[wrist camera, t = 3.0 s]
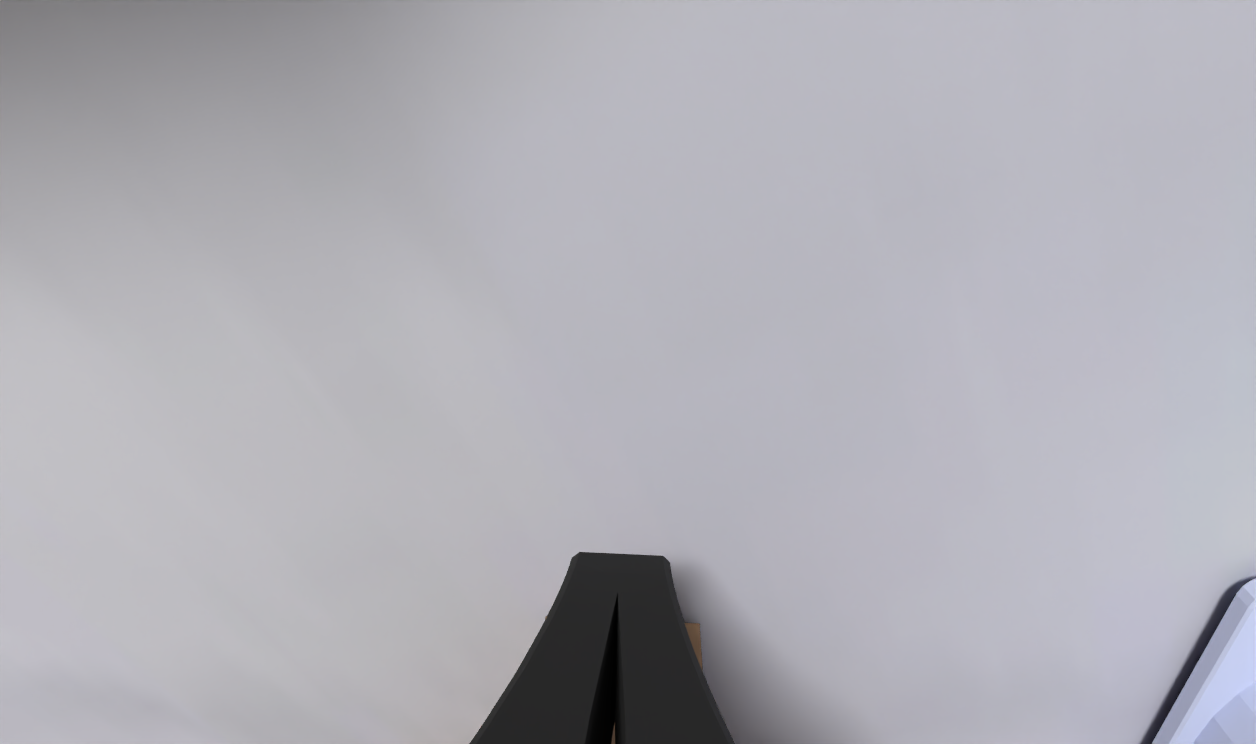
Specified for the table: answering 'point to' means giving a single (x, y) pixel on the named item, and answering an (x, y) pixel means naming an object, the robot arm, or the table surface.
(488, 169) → the table surface
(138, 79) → the table surface
